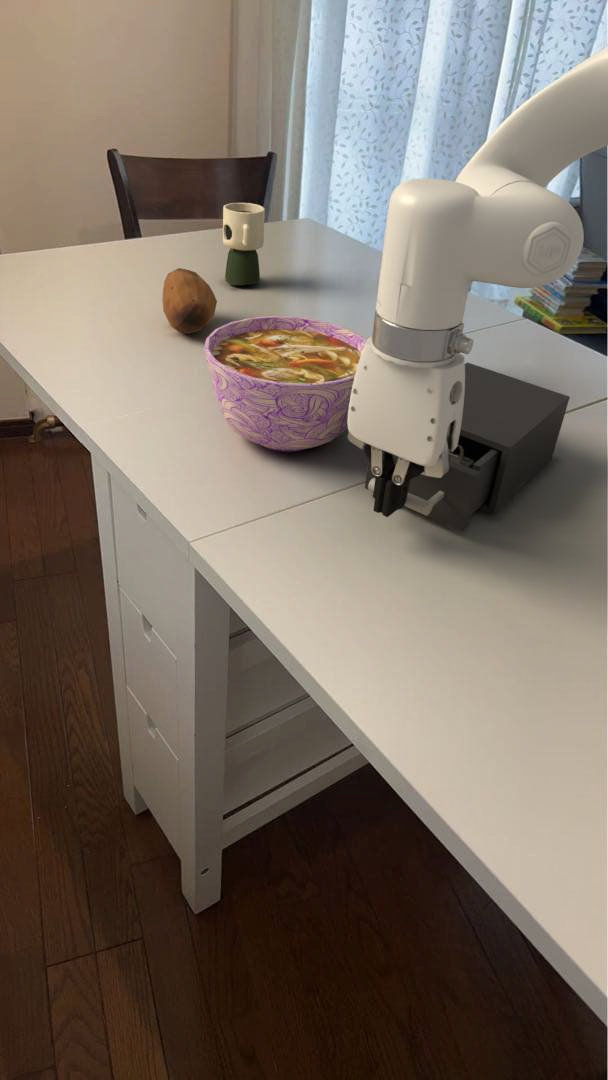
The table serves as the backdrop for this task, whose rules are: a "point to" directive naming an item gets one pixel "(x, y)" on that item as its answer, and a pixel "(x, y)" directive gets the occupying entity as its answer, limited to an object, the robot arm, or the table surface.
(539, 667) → the table surface
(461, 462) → the strap clip
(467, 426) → the small drawer cabinet
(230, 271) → the character mug
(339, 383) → the bowl of food
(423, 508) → the open drawer with handle
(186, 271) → the potato
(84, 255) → the table surface
